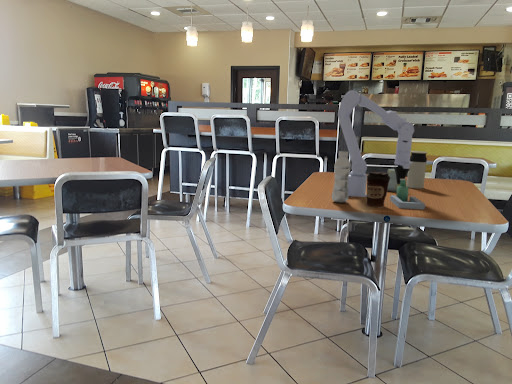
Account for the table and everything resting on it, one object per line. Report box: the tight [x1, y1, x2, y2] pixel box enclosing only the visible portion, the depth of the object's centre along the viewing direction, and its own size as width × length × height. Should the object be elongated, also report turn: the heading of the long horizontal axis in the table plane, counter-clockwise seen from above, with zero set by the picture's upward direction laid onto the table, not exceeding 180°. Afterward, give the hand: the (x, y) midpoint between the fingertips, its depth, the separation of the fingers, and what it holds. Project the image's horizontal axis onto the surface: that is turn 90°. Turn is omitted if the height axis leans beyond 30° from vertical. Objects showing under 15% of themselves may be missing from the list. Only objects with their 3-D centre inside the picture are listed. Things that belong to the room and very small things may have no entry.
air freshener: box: [387, 168, 400, 193], centre depth 186 cm, size 11×8×10 cm
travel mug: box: [406, 150, 428, 190], centre depth 197 cm, size 8×8×18 cm
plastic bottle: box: [331, 150, 352, 203], centre depth 154 cm, size 6×7×20 cm
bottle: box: [396, 178, 410, 201], centre depth 162 cm, size 4×4×9 cm
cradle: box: [389, 194, 426, 210], centre depth 155 cm, size 9×14×2 cm
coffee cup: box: [366, 171, 390, 208], centre depth 150 cm, size 9×8×13 cm
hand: (399, 183), depth 167 cm, fingers closed
